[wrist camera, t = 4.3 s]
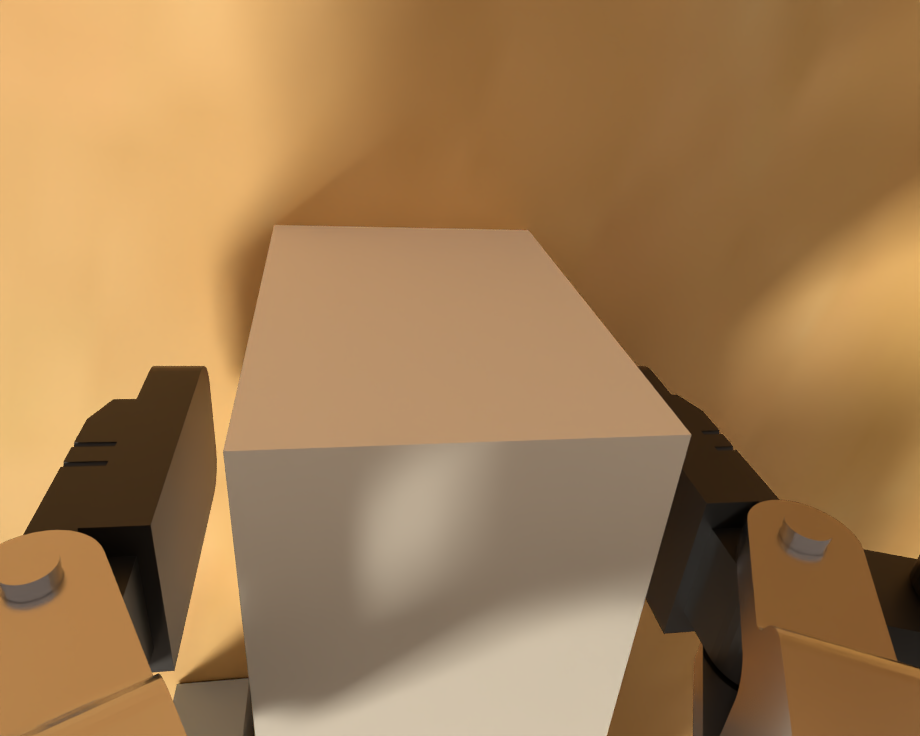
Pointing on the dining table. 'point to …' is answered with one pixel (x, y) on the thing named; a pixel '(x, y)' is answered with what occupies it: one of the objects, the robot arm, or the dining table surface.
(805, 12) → the dining table surface
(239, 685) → the dispenser sleeve
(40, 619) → the robot arm
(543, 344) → the tall cream rectangular prism
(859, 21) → the dining table surface
